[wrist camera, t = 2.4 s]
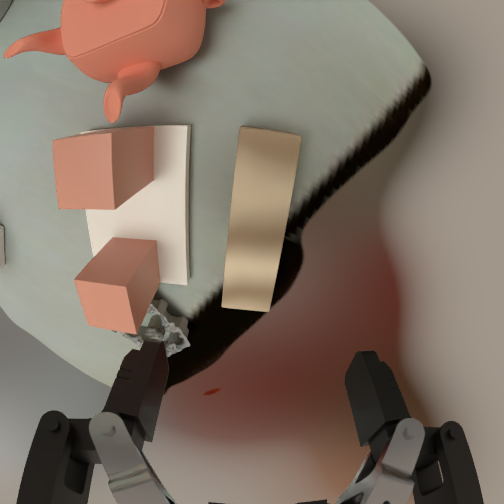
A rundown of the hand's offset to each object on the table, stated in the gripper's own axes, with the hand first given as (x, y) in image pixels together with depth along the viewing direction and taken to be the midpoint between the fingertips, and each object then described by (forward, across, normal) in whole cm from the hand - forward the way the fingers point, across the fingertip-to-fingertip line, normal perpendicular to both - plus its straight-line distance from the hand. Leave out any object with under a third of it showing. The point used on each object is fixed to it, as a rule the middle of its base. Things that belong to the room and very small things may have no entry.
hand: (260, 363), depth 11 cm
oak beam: (+18, 0, 0) cm, 18 cm away
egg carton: (+18, +12, +14) cm, 26 cm away
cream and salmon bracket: (+18, +12, 0) cm, 21 cm away
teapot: (+18, +12, -18) cm, 28 cm away
